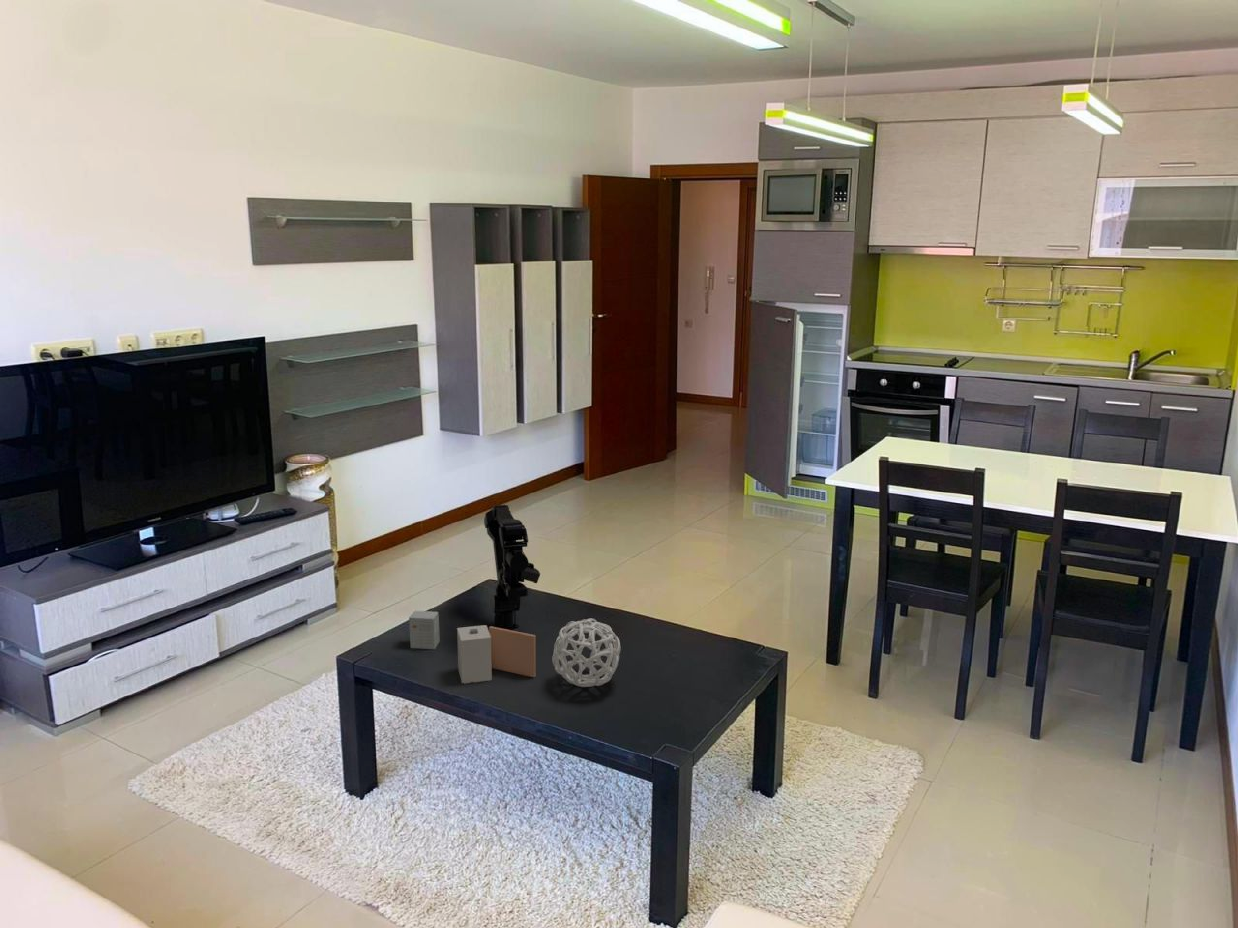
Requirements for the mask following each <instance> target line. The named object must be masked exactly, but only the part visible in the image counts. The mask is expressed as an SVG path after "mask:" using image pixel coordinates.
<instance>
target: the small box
mask: <svg viewBox="0 0 1238 928" xmlns="http://www.w3.org/2000/svg"><path fill="white" fill-rule="evenodd" d="M439 619H440V617H439V611H430V610H429V611H427V610H426V611H425V610H414V611H413V612H412V613H411V615H410V616H409V617H408V621H409V624H408V625H409V641H410V648H411V649H423V650H424V649H425V650H436V648H437V647H438V645H439V644H440V641H441V640H440V637H441V635H440V620H439Z"/></svg>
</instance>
